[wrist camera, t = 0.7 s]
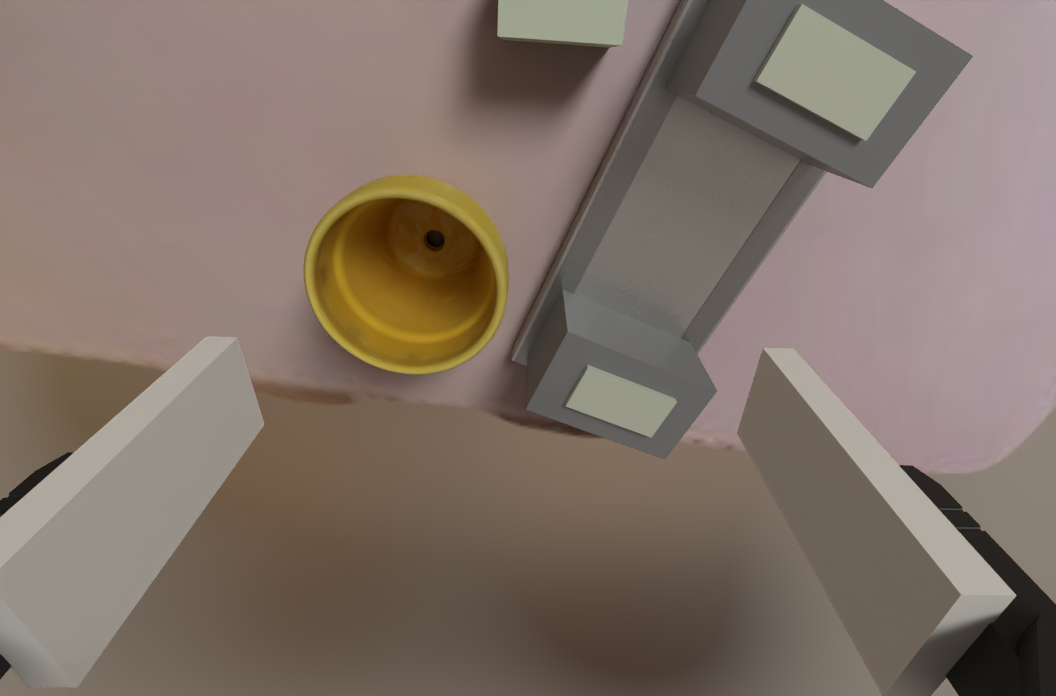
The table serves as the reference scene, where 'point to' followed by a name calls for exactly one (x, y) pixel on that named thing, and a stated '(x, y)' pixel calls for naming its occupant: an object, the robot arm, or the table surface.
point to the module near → (819, 77)
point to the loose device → (563, 21)
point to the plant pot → (407, 275)
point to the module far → (615, 377)
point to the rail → (674, 211)
